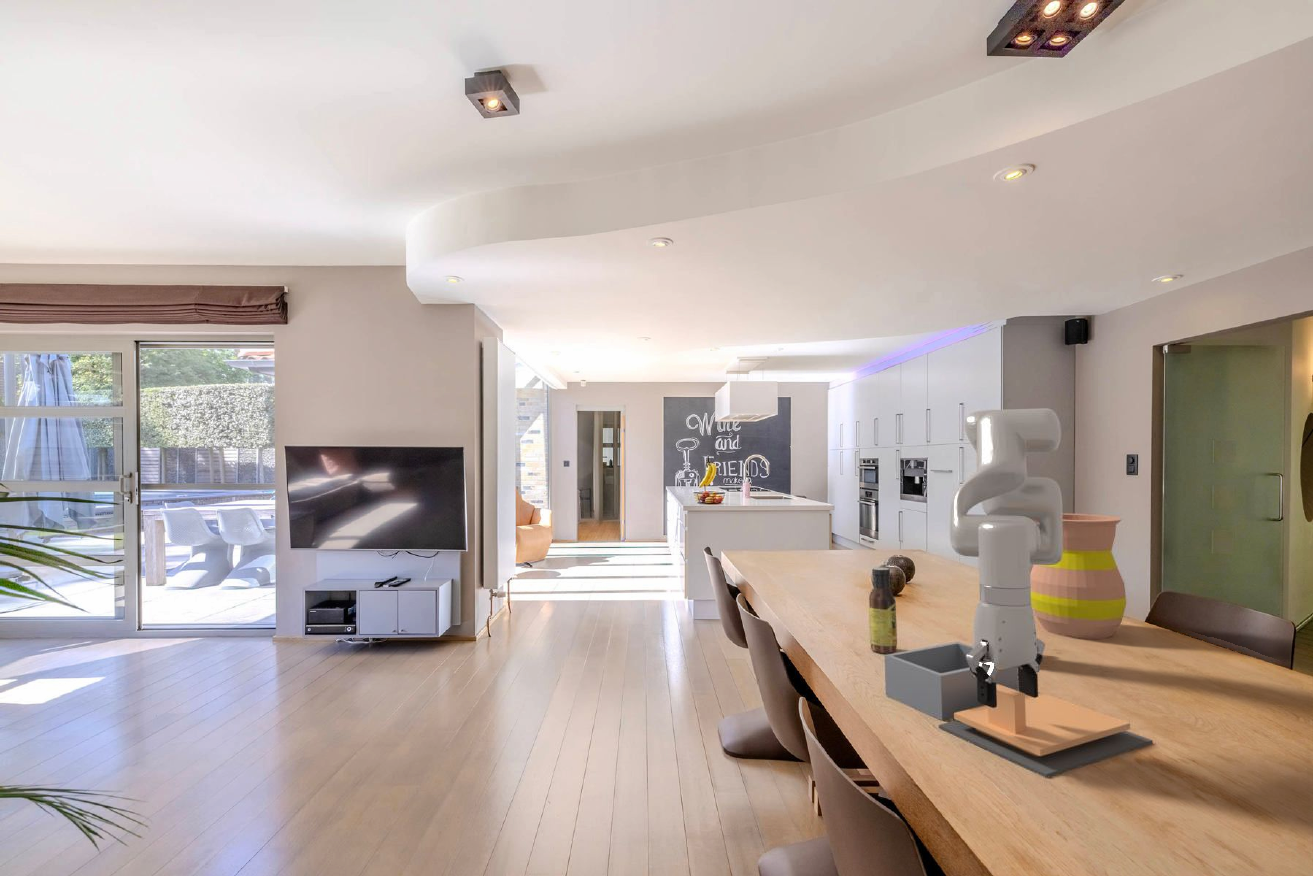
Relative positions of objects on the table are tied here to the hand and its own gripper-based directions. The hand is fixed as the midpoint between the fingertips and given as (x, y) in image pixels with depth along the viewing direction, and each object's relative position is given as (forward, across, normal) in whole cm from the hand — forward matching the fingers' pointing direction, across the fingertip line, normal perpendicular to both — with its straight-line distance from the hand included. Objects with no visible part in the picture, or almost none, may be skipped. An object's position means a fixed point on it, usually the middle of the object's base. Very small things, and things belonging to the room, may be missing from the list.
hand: (1008, 699), depth 110 cm
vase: (+8, -76, -39) cm, 86 cm away
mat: (+7, -8, 0) cm, 11 cm away
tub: (+7, -8, -19) cm, 22 cm away
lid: (+7, -8, 0) cm, 10 cm away
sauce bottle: (+7, -19, -49) cm, 53 cm away
